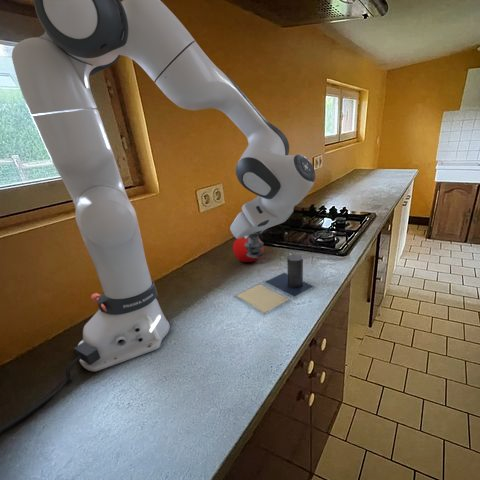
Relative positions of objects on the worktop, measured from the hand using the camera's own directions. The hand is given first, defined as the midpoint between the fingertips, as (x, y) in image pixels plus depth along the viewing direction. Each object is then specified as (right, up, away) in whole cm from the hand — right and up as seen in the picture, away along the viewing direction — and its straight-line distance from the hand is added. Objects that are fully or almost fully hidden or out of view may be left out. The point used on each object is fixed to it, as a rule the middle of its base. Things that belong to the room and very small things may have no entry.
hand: (251, 234), depth 92 cm
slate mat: (+12, -16, +10) cm, 22 cm away
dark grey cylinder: (+14, -16, +9) cm, 23 cm away
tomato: (-3, -7, +29) cm, 30 cm away
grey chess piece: (+1, -6, +3) cm, 7 cm away
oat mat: (+3, -20, +3) cm, 20 cm away
